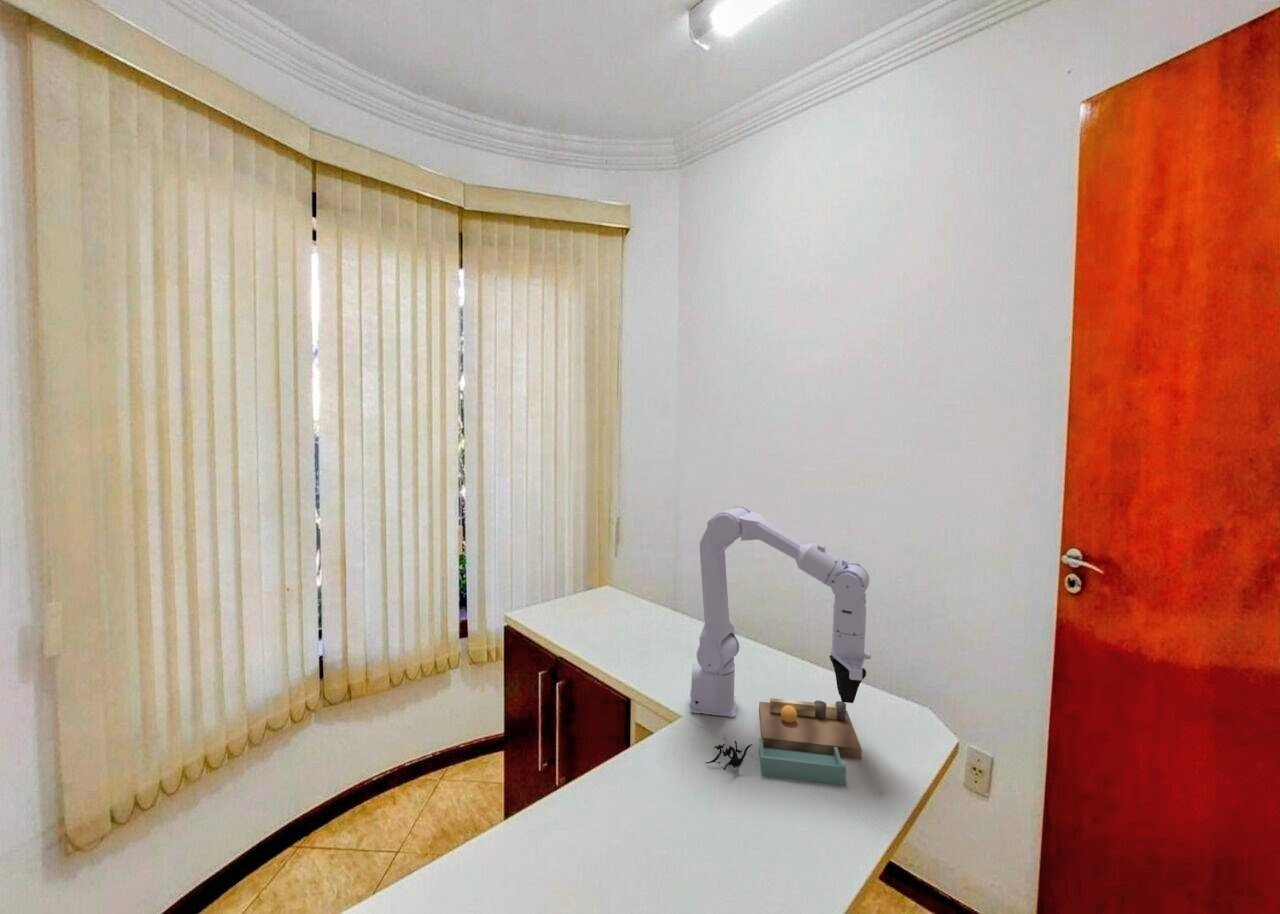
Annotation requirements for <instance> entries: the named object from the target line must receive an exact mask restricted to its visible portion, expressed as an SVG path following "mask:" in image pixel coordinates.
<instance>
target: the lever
mask: <svg viewBox="0 0 1280 914" xmlns="http://www.w3.org/2000/svg"><path fill="white" fill-rule="evenodd" d="M769 703H770V712H773V713H781V709H782V708H783V707H784V706H786V705H790V706H792V707H794V708H795V710H796V712H797V715H802V716H811V717H816V718H818V719H825V718H830V719H837V720H840V721H844V720H845V719H846V710H847V703H846V702H842V701H841V700H837V701H836V702H835V704H831V703H826V702H825V701H822V700H815V701H814V702H813V701H812V702H811V701H803V700H793V699H785V698H784V699H783V698H782V699H781V698H774V697H773V698H772V697H770V698H769Z"/></svg>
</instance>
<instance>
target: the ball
mask: <svg viewBox="0 0 1280 914" xmlns="http://www.w3.org/2000/svg"><path fill="white" fill-rule="evenodd" d="M781 717H782V719H783V720H784V721H785V722H788V723H792V722H794V721H795V720H796V718H797V712H796V710H795V708H794V707H792V706H790V705H786V706H784V707H783V708H782V709H781Z"/></svg>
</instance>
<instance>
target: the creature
mask: <svg viewBox="0 0 1280 914" xmlns="http://www.w3.org/2000/svg"><path fill="white" fill-rule="evenodd" d="M723 737H724V740H725V743H722V745H721V744H718V745H715V746H714V747H713V749H716V751H718V752H719V753H718V754H717V755H716V756H715V757H714V758H713V759H712V760H710V761H706V762H705V764H710V763H717V764H718V765H719V767H721V768H722V769H723V770H724V771H726V769H727V766H729V765H730V766H731V767H733V769H736V768H737V767H739V766H741V765H742V764H743V762H744V759H745V758H746V755H747V752H748V750H749V749H750V747H752V746H753V744H752V743H751V744H749V745H747V746H746V747H745V748H744V751H743V750H740V749H739V748H738V742H737V741H736V740H734V741H733V742H734V744H735V745H734V746H735V747H733V746H731V745H729V744H728V742H727V739H726V737H725V734H724V733H723ZM727 746H728V747H727ZM724 748H725V750H724ZM742 753H743V754H742ZM731 754H732V755H731ZM738 754H742V756H741V757H740V758H739V756H738ZM721 755H722V756H723V757H728V758H729V759H730V760H728V762H727V763H726V764H725V765H724V766H722V765H720V764H721V763H722V762H720V761H718V760H719V758H720V756H721Z"/></svg>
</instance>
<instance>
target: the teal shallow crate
mask: <svg viewBox="0 0 1280 914" xmlns="http://www.w3.org/2000/svg"><path fill="white" fill-rule="evenodd" d="M758 741H759V742H758V744H759V745H758V751H759V752H758V753H759V762H760V763H759V764H760V775H761V776H768V777H775V778H777V777H778V778H783V779H784V778H785V779H793V780H801V781H807V782H808V781H809V782H816V783H826V784H830V785H831V784H832V785H833V784H834V785H839V786H841V785H842V786H846V775H847V774H846V773H847V766H846V765H844V764H843V762H842V759H841V758H842V757H840V755H839V751H838V748H837V747H834V754H833V755H826V754H817V753H809V752H800V751H792V750H783V749H774V748H766V747H763V739H761V737H759V739H758Z"/></svg>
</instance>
